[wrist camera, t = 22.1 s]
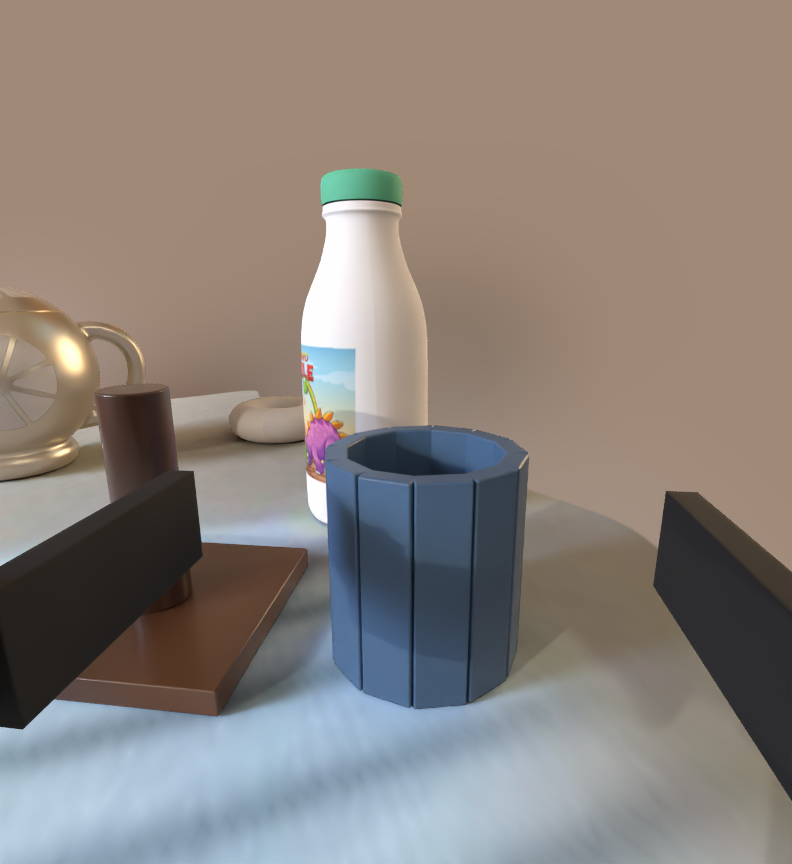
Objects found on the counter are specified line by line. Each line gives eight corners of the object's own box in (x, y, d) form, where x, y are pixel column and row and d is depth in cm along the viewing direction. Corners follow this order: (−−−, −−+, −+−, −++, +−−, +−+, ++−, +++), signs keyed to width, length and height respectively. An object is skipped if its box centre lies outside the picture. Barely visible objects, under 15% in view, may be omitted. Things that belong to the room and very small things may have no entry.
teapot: (-122, 515, 33) (-197, 245, 29) (-90, 463, 44) (-141, 261, 40) (173, 463, 43) (149, 259, 39) (141, 431, 54) (119, 268, 50)
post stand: (308, 565, 26) (298, 372, 24) (218, 717, 17) (185, 421, 14) (129, 554, 28) (102, 370, 25) (-49, 689, 18) (-122, 413, 16)
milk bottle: (410, 483, 38) (411, 192, 33) (441, 527, 31) (448, 162, 26) (305, 492, 37) (290, 187, 32) (311, 539, 29) (292, 153, 24)
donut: (326, 422, 58) (235, 424, 56) (325, 392, 57) (233, 393, 55) (334, 445, 49) (224, 450, 47) (333, 410, 48) (222, 413, 46)
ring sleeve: (529, 611, 22) (540, 435, 20) (489, 736, 16) (501, 497, 14) (380, 577, 25) (378, 419, 23) (297, 672, 19) (284, 465, 17)
